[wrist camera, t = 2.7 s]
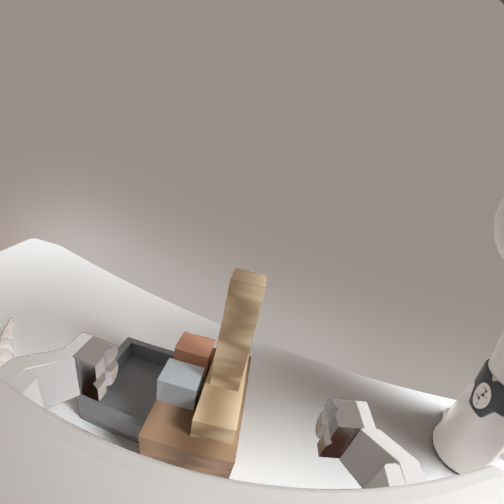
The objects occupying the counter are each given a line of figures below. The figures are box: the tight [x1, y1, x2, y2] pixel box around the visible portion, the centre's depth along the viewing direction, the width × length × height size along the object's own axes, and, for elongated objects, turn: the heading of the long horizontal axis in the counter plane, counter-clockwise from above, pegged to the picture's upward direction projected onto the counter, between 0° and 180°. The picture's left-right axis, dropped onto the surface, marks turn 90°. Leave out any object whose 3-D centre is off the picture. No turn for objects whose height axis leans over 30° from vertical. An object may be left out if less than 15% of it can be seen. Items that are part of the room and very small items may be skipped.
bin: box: [76, 337, 174, 443], centre depth 33 cm, size 9×15×4 cm, turn 175°
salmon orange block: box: [174, 332, 215, 377], centre depth 34 cm, size 4×4×3 cm
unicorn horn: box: [0, 317, 14, 367], centre depth 28 cm, size 5×24×5 cm, turn 30°
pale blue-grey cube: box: [157, 358, 205, 410], centre depth 28 cm, size 4×4×3 cm
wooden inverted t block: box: [190, 268, 267, 446], centre depth 28 cm, size 4×14×14 cm, turn 175°
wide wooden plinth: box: [138, 348, 251, 479], centre depth 31 cm, size 9×18×6 cm, turn 175°
